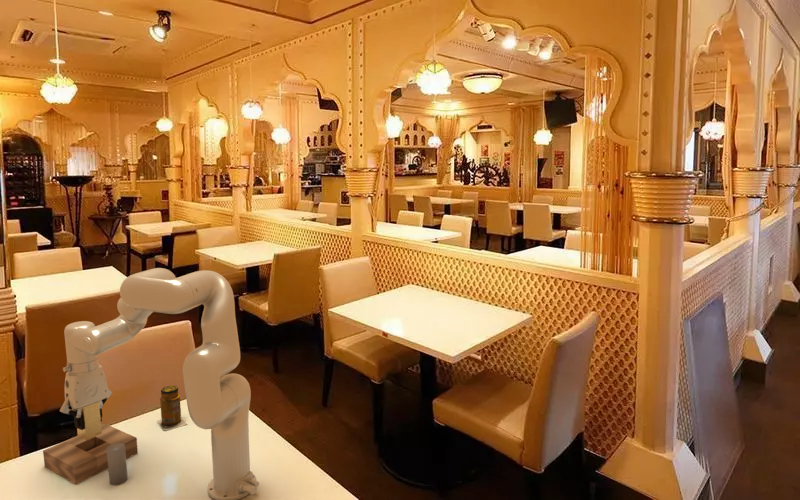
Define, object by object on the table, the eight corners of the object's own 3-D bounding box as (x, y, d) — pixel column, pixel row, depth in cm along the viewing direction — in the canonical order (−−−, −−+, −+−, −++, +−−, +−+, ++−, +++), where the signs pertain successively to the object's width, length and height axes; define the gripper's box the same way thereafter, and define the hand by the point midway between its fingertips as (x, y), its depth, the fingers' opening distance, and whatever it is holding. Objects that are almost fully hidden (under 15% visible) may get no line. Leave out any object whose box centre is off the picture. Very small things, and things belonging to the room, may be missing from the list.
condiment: (179, 414, 180) (177, 382, 178) (187, 424, 174) (185, 391, 172) (156, 421, 176) (154, 388, 174) (164, 431, 169) (161, 397, 167)
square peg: (101, 433, 152) (98, 401, 151) (86, 440, 149) (83, 407, 147) (93, 429, 155) (90, 397, 153) (77, 436, 151) (74, 403, 149)
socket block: (137, 452, 157) (136, 437, 156) (76, 484, 141) (74, 467, 140) (106, 438, 165) (105, 423, 164) (44, 466, 149) (42, 450, 148)
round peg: (131, 478, 144) (128, 445, 142) (115, 487, 140) (112, 453, 139) (121, 473, 146) (118, 441, 145) (106, 482, 143) (103, 448, 141)
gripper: (59, 378, 139) (65, 441, 142) (119, 358, 153) (124, 415, 156) (44, 372, 142) (51, 434, 146) (104, 353, 157) (109, 409, 160)
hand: (89, 424), depth 151 cm, fingers closed on square peg, 4 cm apart
